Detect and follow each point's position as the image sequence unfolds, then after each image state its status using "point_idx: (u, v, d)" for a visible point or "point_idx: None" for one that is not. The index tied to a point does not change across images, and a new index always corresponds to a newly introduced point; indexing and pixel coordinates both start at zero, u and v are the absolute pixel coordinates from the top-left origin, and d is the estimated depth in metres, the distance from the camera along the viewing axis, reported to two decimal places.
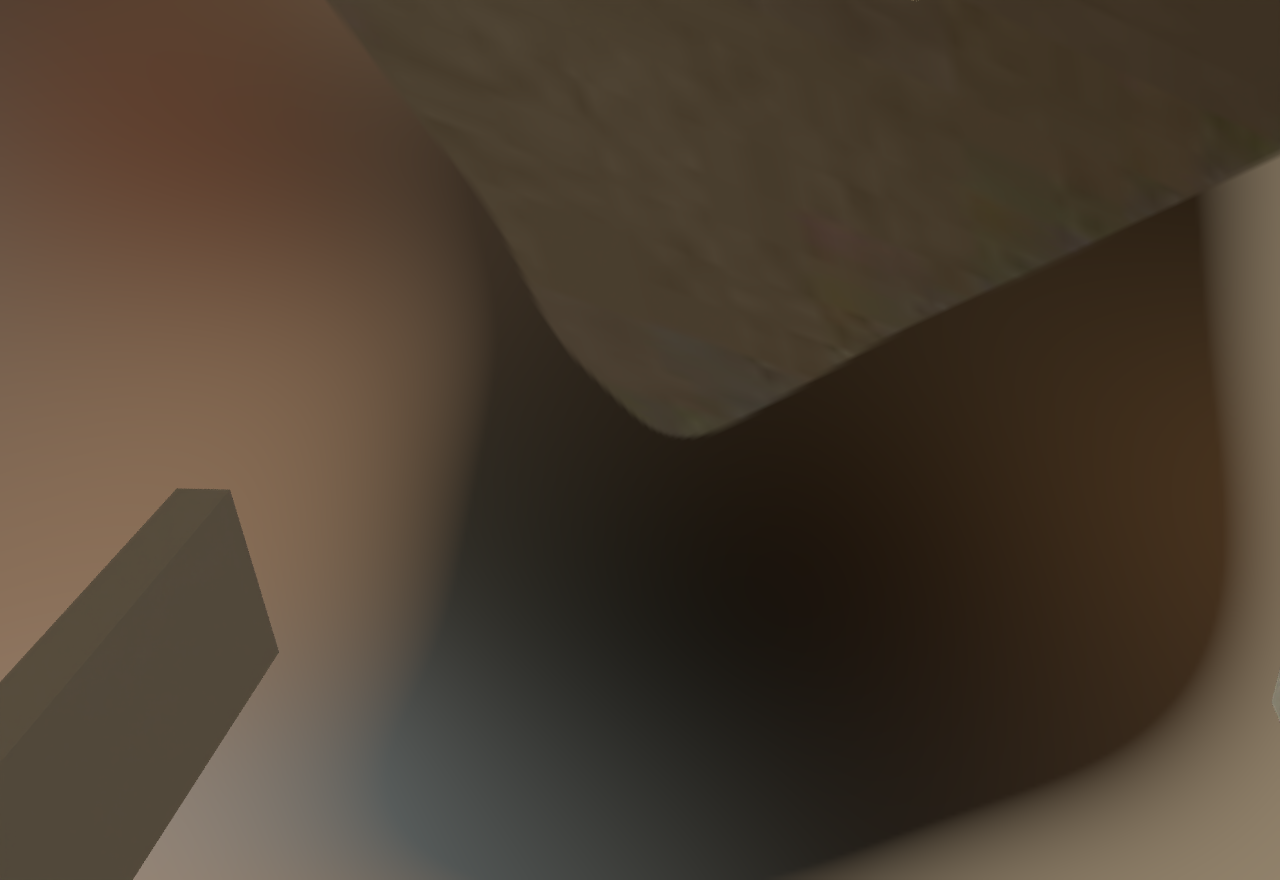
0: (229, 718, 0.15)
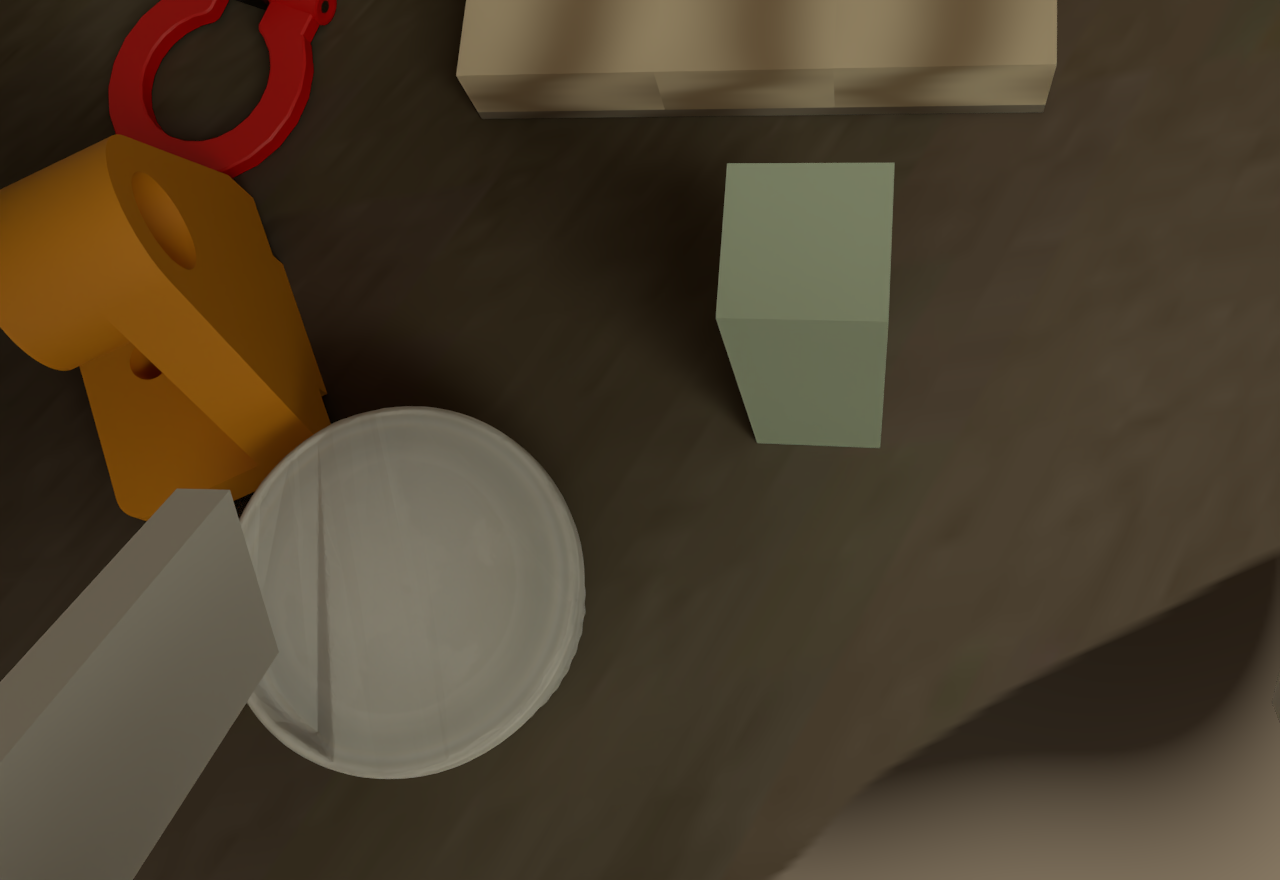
0: (229, 718, 0.15)
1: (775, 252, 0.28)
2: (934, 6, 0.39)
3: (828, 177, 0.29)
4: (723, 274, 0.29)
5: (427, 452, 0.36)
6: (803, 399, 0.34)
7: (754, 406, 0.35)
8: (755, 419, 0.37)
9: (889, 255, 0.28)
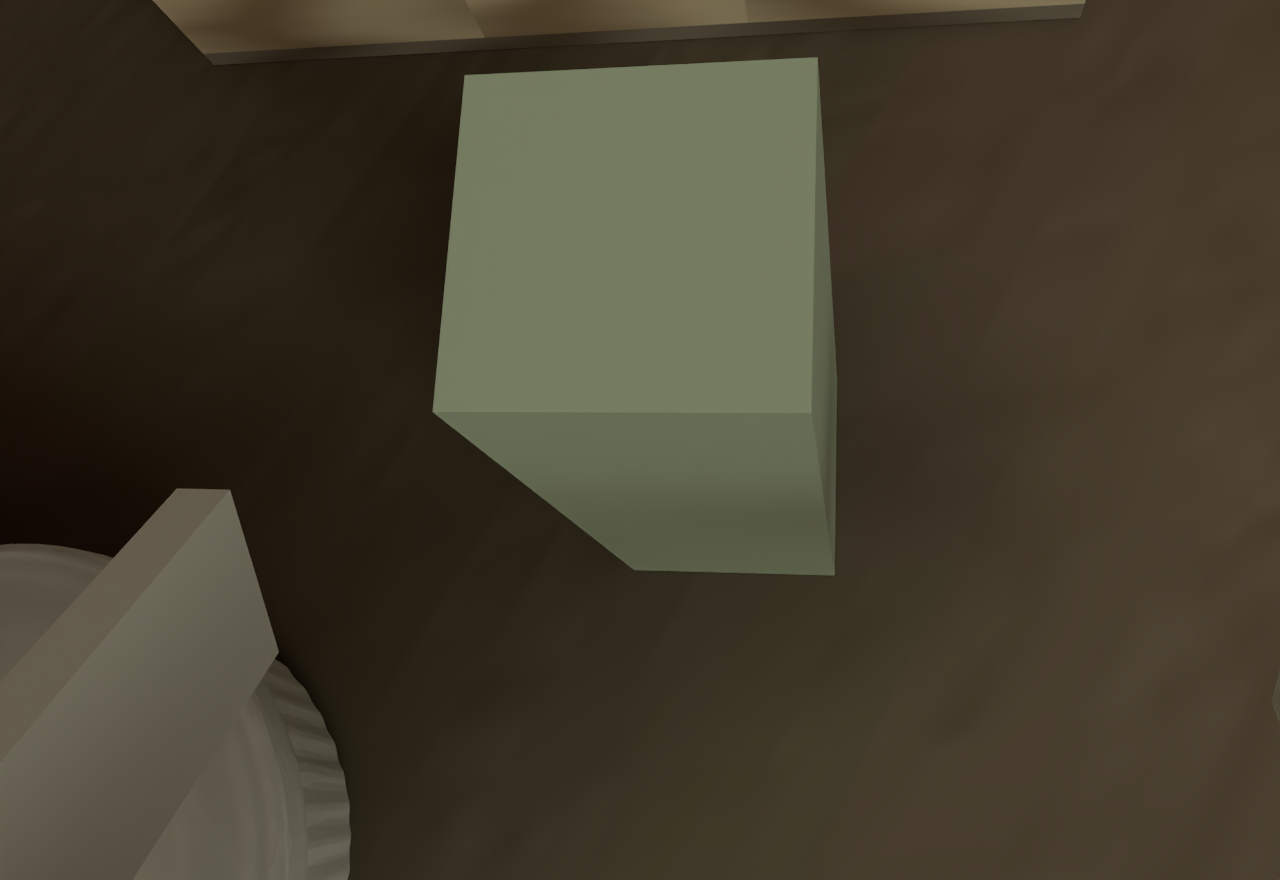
0: (229, 718, 0.15)
1: (562, 263, 0.13)
2: None
3: (676, 94, 0.13)
4: (451, 314, 0.13)
5: (35, 628, 0.21)
6: (684, 524, 0.19)
7: (603, 533, 0.20)
8: (614, 546, 0.21)
9: (811, 261, 0.12)
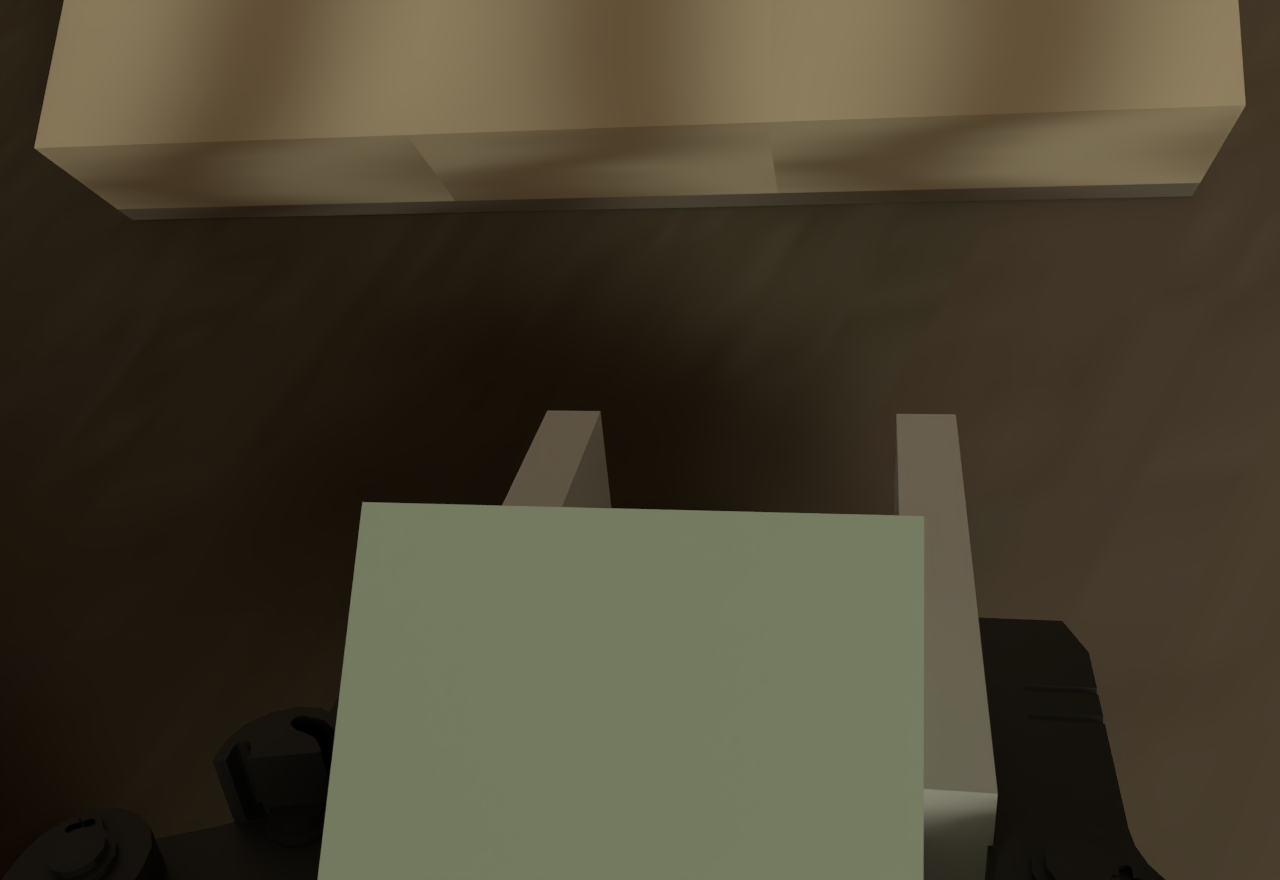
0: None
1: (505, 851, 0.08)
2: None
3: (693, 564, 0.08)
4: None
5: None
6: None
7: None
8: None
9: None
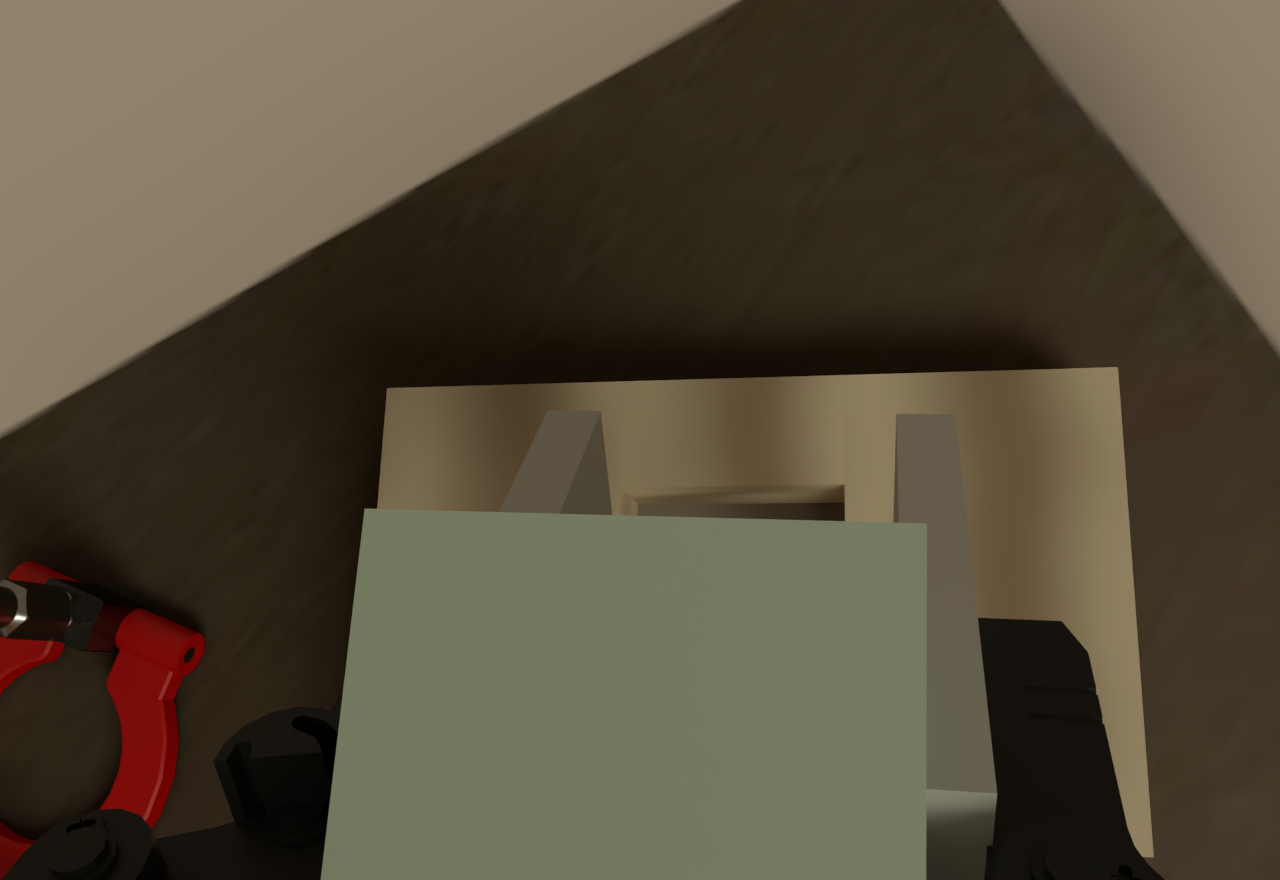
0: None
1: (508, 859, 0.08)
2: None
3: (695, 571, 0.08)
4: None
5: None
6: None
7: None
8: None
9: None
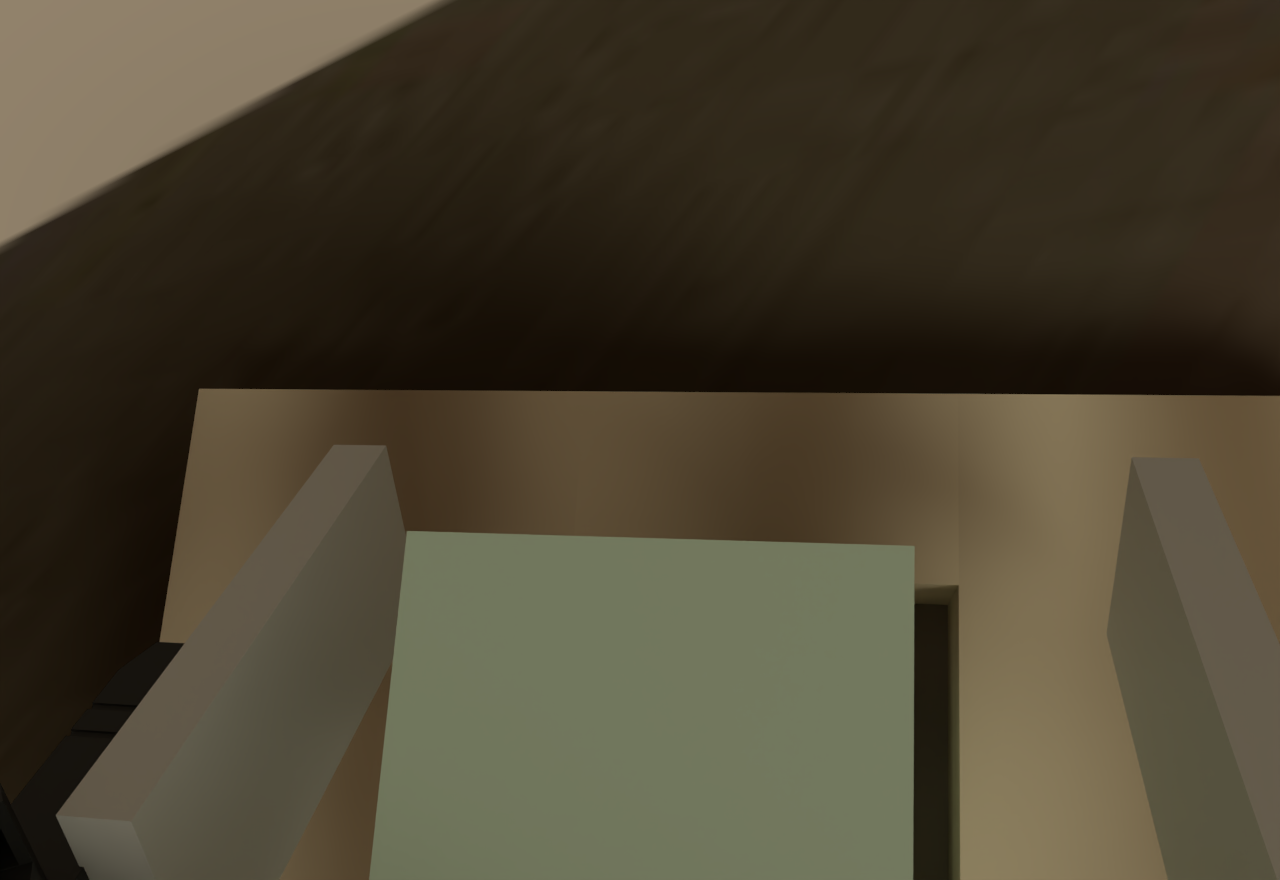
0: (385, 664, 0.16)
1: (540, 846, 0.09)
2: None
3: (706, 588, 0.09)
4: None
5: None
6: None
7: None
8: None
9: (908, 878, 0.08)
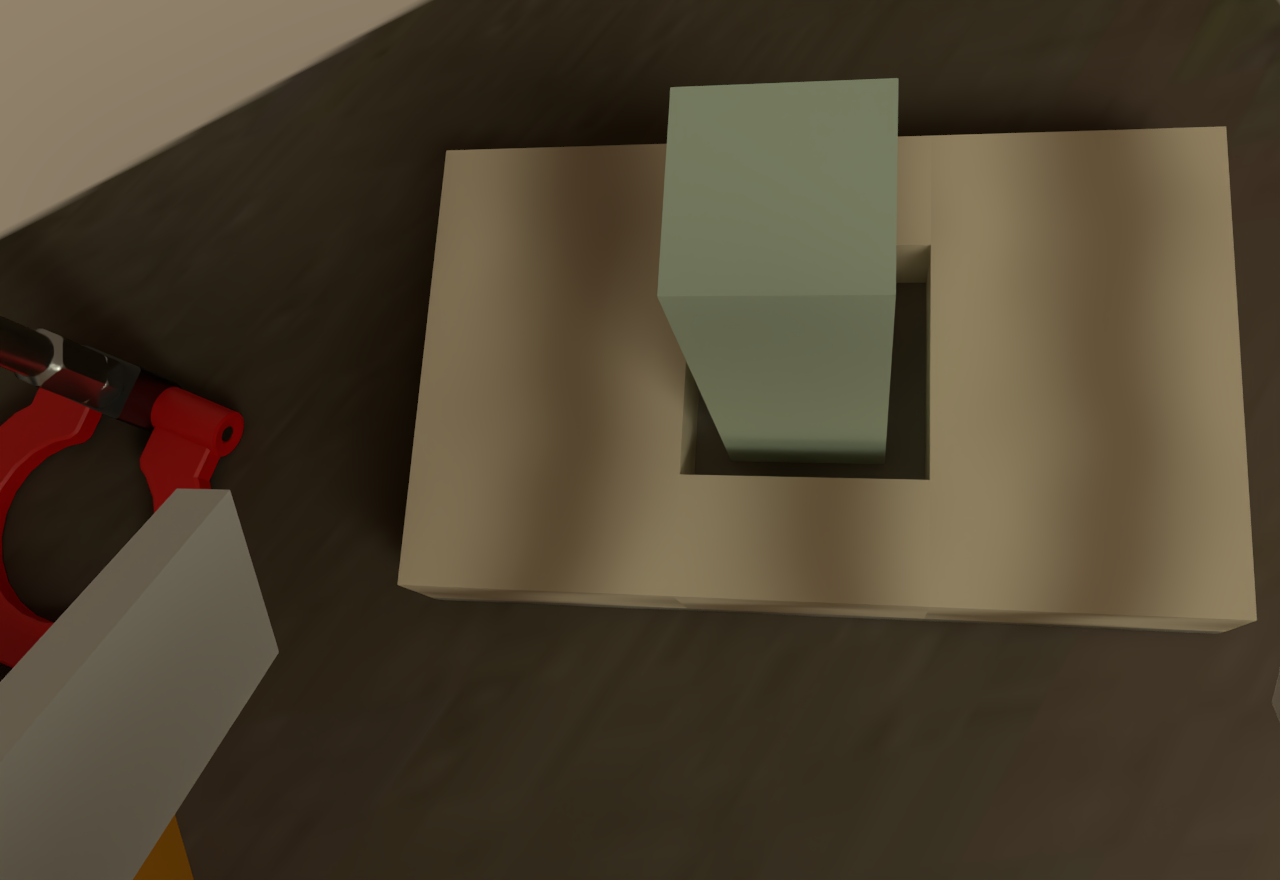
0: (229, 718, 0.15)
1: (737, 205, 0.21)
2: (1072, 516, 0.28)
3: (808, 100, 0.21)
4: (667, 236, 0.21)
5: None
6: (785, 405, 0.27)
7: (723, 416, 0.28)
8: (726, 432, 0.29)
9: (894, 204, 0.20)
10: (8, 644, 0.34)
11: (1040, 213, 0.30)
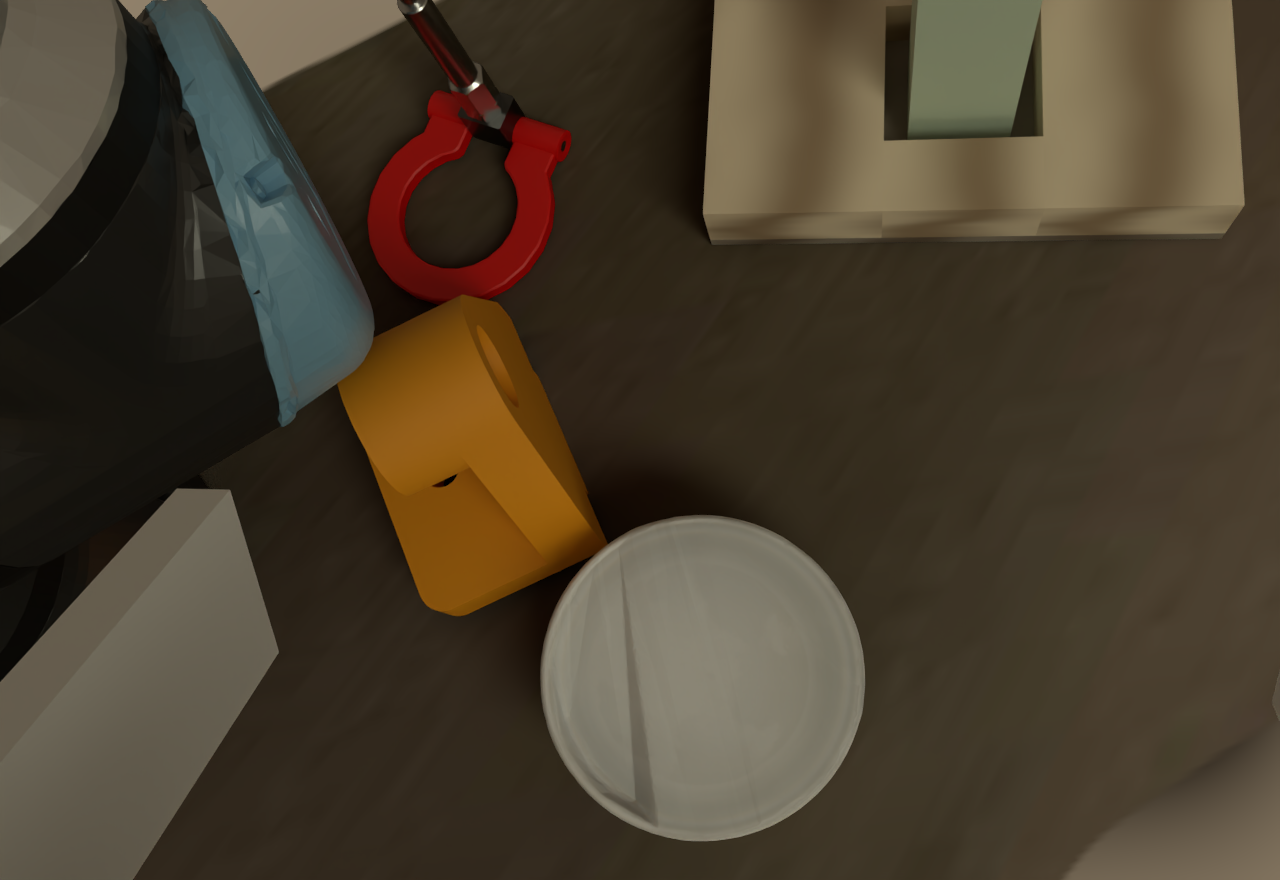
0: (229, 718, 0.15)
1: None
2: (1132, 153, 0.45)
3: None
4: None
5: (719, 556, 0.42)
6: (961, 76, 0.44)
7: (919, 91, 0.45)
8: (914, 111, 0.47)
9: None
10: (420, 283, 0.52)
11: None
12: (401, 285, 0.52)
